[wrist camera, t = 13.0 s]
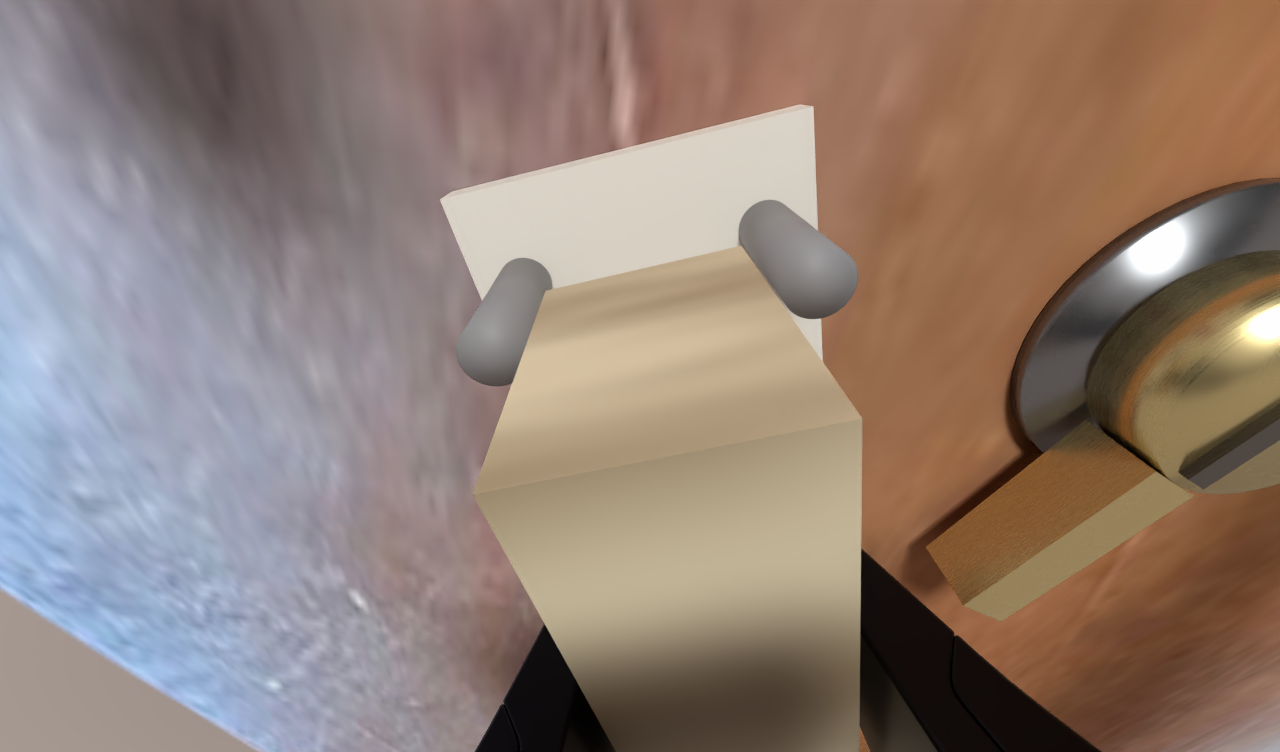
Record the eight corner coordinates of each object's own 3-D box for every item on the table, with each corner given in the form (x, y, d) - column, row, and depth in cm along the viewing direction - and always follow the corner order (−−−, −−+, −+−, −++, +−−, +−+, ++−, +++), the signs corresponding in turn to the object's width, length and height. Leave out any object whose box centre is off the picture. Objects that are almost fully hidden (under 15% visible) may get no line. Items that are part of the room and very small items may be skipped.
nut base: (1441, 137, 13) (1475, 139, 12) (1275, 433, 18) (1294, 443, 18) (1042, 225, 14) (1058, 231, 13) (991, 483, 19) (1001, 495, 18)
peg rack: (451, 191, 13) (367, 248, 9) (799, 104, 12) (897, 119, 8) (588, 529, 19) (578, 656, 15) (818, 486, 19) (876, 608, 14)
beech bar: (784, 597, 14) (858, 836, 9) (659, 617, 14) (676, 858, 10) (741, 245, 8) (861, 418, 4) (545, 290, 9) (471, 494, 5)
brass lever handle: (1260, 204, 13) (1408, 233, 10) (1373, 319, 15) (1519, 366, 12) (883, 527, 19) (921, 593, 16) (997, 580, 21) (1047, 646, 18)
